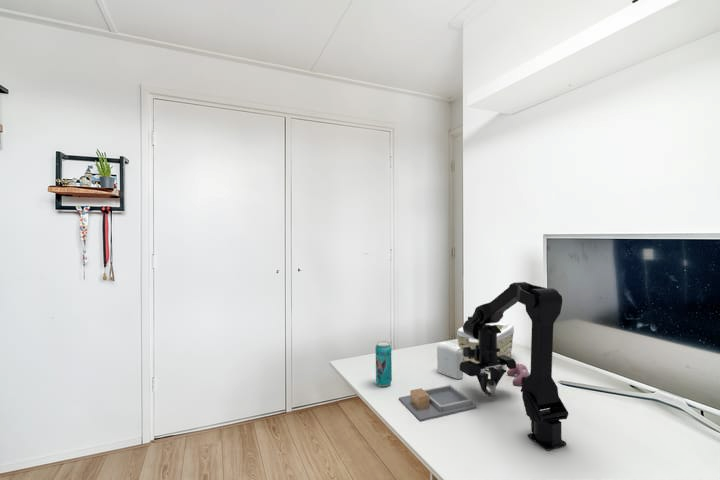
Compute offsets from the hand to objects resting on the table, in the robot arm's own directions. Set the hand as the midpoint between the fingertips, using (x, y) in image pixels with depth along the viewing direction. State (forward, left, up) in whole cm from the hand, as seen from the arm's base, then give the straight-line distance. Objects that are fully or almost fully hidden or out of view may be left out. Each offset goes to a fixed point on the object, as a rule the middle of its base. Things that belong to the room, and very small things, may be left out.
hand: (488, 390), depth 110 cm
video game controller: (+6, -19, -3) cm, 20 cm away
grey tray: (+3, +18, -2) cm, 18 cm away
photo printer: (+20, +1, -3) cm, 20 cm away
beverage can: (+22, +28, -3) cm, 36 cm away
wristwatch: (0, 0, -1) cm, 1 cm away
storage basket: (+26, -22, -3) cm, 34 cm away
